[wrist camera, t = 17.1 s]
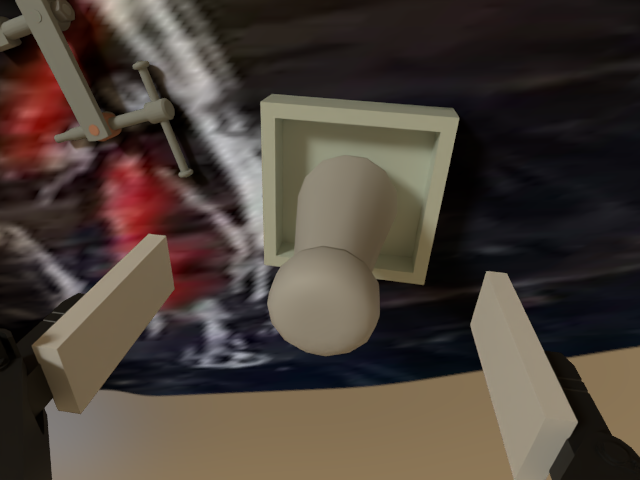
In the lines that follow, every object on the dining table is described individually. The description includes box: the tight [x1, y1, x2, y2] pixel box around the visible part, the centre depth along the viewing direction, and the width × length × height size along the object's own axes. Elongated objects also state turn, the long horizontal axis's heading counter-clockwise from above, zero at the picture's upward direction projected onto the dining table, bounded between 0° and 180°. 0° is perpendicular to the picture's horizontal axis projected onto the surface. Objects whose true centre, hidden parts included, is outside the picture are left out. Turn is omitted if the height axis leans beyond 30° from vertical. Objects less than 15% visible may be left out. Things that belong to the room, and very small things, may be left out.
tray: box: [261, 94, 459, 285], centre depth 25 cm, size 11×11×2 cm
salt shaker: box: [267, 155, 397, 356], centre depth 20 cm, size 6×6×13 cm
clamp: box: [0, 0, 193, 177], centre depth 25 cm, size 15×2×10 cm
